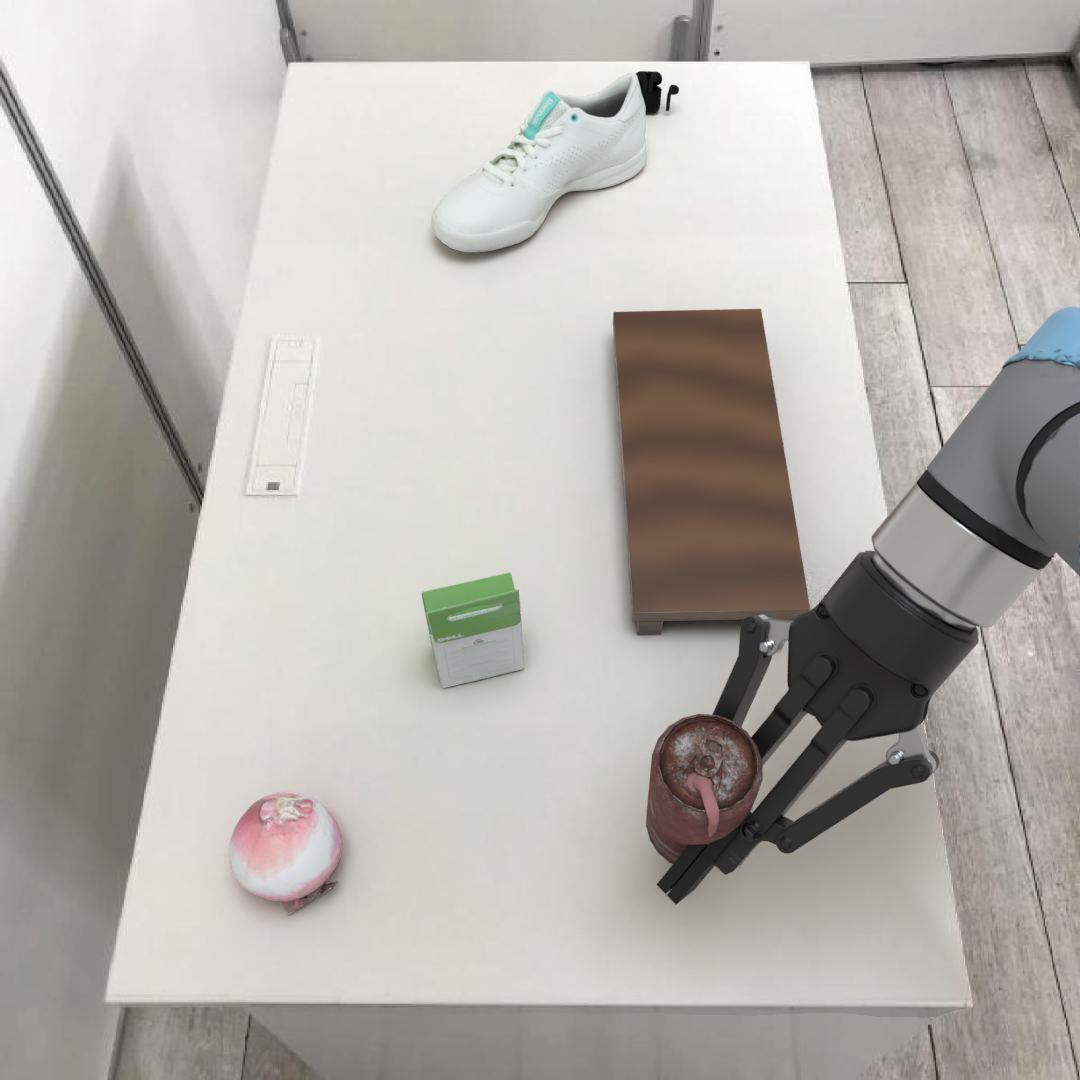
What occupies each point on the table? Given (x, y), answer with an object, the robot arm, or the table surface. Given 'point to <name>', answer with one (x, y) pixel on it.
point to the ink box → (475, 629)
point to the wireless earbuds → (654, 90)
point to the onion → (285, 848)
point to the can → (700, 783)
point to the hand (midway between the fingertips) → (675, 887)
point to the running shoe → (547, 166)
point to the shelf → (704, 470)
